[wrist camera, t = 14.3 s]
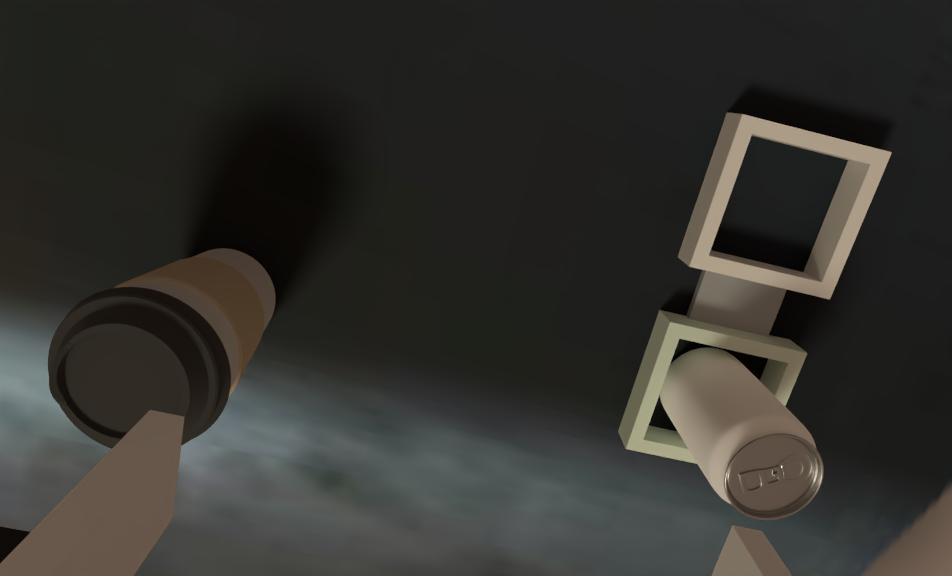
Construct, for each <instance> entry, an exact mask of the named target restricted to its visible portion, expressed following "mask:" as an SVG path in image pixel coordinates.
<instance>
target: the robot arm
mask: <svg viewBox="0 0 952 576" xmlns="http://www.w3.org/2000/svg"><path fill="white" fill-rule="evenodd" d="M183 426H184V416H179V415H174V414H169V413H164V412H158V411H153V410H149V411H148V412H147V413H146V415H145V416H144V417H143V418H142V419H141V420H140V421H139V422H138V423H137V424H136V425H135V426H134V427H133V428H132V429H131V430H130V431H129V432H128V433H127V434H126V435H125V436H124V437H123V438H122V439H121V440H120V441H119V442H118V443H117V444H116V445H115V446H114V447H113V448H112V449H111V450H110V451H109V452H108V453H107V455H106V456H105V457H104V458H103V459H102V460H101V461H100V462H99V463H98V464H97V465H96V466H95V467H94V468H93V469H92V470H91V471H90V472H89V473H88V474H87V475H86V476H85V477H84V478H83V479H82V480H81V481H80V482H79V483H78V484H77V485H76V486H75V487H74V488H73V489H72V490H71V491H70V492H69V493H68V495H67V496H66V497H65V498H64V499H63V500H62V501H61V502H60V503H59V504H58V505H57V506H56V507H55V508H54V509H53V510H52V511H51V512H50V513H49V514H48V515H47V516H46V517H45V518H44V519H43V520H42V521H41V522H40V523H39V524H38V525H37V526H36V527H35V528H34V529H33V530H32V531H31V532H27V531H21V530H16V529H10V528H5V527H0V576H134V574H135V573H136V571H137V570H138V568H139V567H140V565H141V564H142V562H143V561H144V560H145V558H146V557H147V555H148V554H149V552H150V551H151V549H152V548H153V546H154V545H155V543H156V542H157V540H158V539H159V537H160V536H161V534H162V533H163V532H164V530H165V529H166V527H167V526H168V524H169V523H170V521H171V520H172V518H173V511H174V502H175V494H176V485H177V477H178V468H179V460H180V451H181V443H182V434H183ZM712 576H792V575H791V574H790V572H789V571H788V569H787V568H786V566H785V565H784V563H783V562H782V560H781V559H780V557H779V556H778V554H777V553H776V551H775V550H774V548H773V547H772V545H771V544H770V542H769V541H768V539H767V538H766V536H765V535H764V533H763V532H762V531H759V530H753V529H748V528H743V527H738V526H733V525H732V528H731V530H730V533H729V535H728V537H727V540H726V542H725V545H724V547H723V549H722V552H721V554H720V557H719V559H718V561H717V564H716V566H715V569H714V571H713V573H712Z"/></svg>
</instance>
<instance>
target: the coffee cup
mask: <svg viewBox="0 0 952 576" xmlns="http://www.w3.org/2000/svg"><path fill="white" fill-rule="evenodd" d="M275 301H276V299H275V290H274V286H273V283H272V281H271V278H270V276H269V275H268V273H267V272H266V270H265V269H264V268H263V267H262V265H261V264H260V263H258V262H257V261H256V260H255V259H253V258H252V257H251V256H249V255H247V254H245V253H243V252H240V251H237V250H233V249H226V248H219V249H212V250H208V251H206V252H203V253H201V254H198V255H196V256H194V257H191V258H186V259H182V260H179V261H176V262H174V263H171V264H169V265H166V266H164V267H161V268H159V269H156V270H154V271H151V272H149V273H146V274H144V275H141V276H139V277H136V278H134V279H131V280H129V281H127V282H124V283H122V284H120V285H118V286H116V287H114V288H112V289H108V290H104V291H101V292H98V293H96V294H93V295H91V296H89V297H87V298H86V299H84V300H83V301H81V302H80V303H79V304H77V305H76V306H75V307H74V308H73V309H72V310H71V311H70V312H69V313H68V314H67V316H66V317H65V319H64V320H63V321H62V323H61V324H60V325H59V327H58V329H57V330H56V332H55V334H54V336H53V339H52V342H51V345H50V349H49V356H48V372H49V387H50V391H51V394H52V396H53V398H54V399H55V400H56V401H57V402H58V404H59V405H60V407H61V408H62V410H63V411H64V413H65V414H66V416H67V417H68V418H69V419H70V420H71V422H72V423H73V424H74V425H75V426H76V427H77V428H78V429H79V430H81V431H82V432H83V433H84V434H86V435H87V436H88V437H90V438H91V439H93V440H95V441H96V442H98V443H100V444H102V445H104V446H107V447H109V448H113V447H114V446H115V445H116V444H117V443H118V442H119V441H120V440H121V439H122V438H123V437H124V436H125V435H126V434H127V433H128V432H129V431H130V430H131V429H132V428H133V427H134V426H135V425H136V424H137V423H138V422H139V421H140V420H141V419H142V418H143V417H144V416H145V415H146V413H147V412H148V411H149V410H153V411H158V412H164V413H169V414H174V415H179V416H184V426H183V434H182V443H181V445H183V444H185V443H187V442H188V441H190V440H191V439H193V438H195V437H197V436H199V435H200V434H202V433H203V432H205V431H206V430H207V429H208V428H209V427H211V426H212V425H213V424H214V422H215V421H216V420H217V419H218V417H219V416H220V415H221V413H222V411H223V409H224V408H225V405H226V403H227V400H228V397H229V396H230V394H231V393H232V392H233V390H234V389H235V387H236V385H237V383H238V381H239V379H240V378H241V376H242V374H243V372H244V370H245V368H246V366H247V365H248V363H249V361H250V359H251V357H252V355H253V353H254V352H255V350H256V348H257V346H258V344H259V342H260V340H261V337H262V334H263V332H264V330H265V328H266V327H267V325H268V323H269V321H270V319H271V318H272V315H273V312H274V309H275Z"/></svg>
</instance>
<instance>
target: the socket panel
mask: <svg viewBox="0 0 952 576" xmlns="http://www.w3.org/2000/svg"><path fill="white" fill-rule="evenodd" d="M751 135H752V136H756V137H760V138H764V139H767V140H771V141H775V142H779V143H783V144H787V145H791V146H795V147H799V148H803V149H807V150H811V151H815V152H819V153H823V154H826V155H830V156H834V157H838V158H842V159H846V160H848V162H847V165H846V167H845V170H844V172H843V175H842V177H841V180H840V182H839V185H838V187H837V190H836V192H835V194H834V197H833V199H832V202H831V204H830V207H829V209H828V212H827V214H826V217H825V219H824V222H823V224H822V227H821V229H820V232H819V234H818V237H817V239H816V242H815V244H814V247H813V249H812V252H811V254H810V257H809V259H808V262H807V264H806V267H805V269H804V272H800V271H796V270H792V269H788V268H784V267H779V266H775V265H771V264H767V263H763V262H758V261H754V260H750V259H746V258H741V257H737V256H733V255H729V254H725V253H720V252H716V251H712V250H711V248H712V245H713V242H714V239H715V237H716V234H717V231H718V228H719V225H720V223H721V220H722V217H723V214H724V211H725V208H726V206H727V203H728V200H729V197H730V194H731V192H732V189H733V186H734V183H735V180H736V178H737V175H738V172H739V169H740V166H741V163H742V161H743V158H744V155H745V152H746V149H747V147H748V144H749V141H750V138H751ZM891 153H892V152H888V151H884V150H881V149H877V148H873V147H869V146H865V145H861V144H857V143H853V142H849V141H845V140H842V139H838V138H834V137H830V136H826V135H822V134H818V133H814V132H810V131H807V130H803V129H799V128H795V127H791V126H787V125H783V124H779V123H775V122H771V121H768V120H764V119H760V118H756V117H752V116H748V115H744V114H737V113H727V114H726V117H725V120H724V122H723V125H722V128H721V131H720V134H719V137H718V140H717V143H716V146H715V149H714V152H713V155H712V158H711V161H710V164H709V166H708V169H707V172H706V175H705V178H704V181H703V184H702V187H701V190H700V193H699V196H698V199H697V202H696V205H695V207H694V210H693V213H692V216H691V219H690V222H689V225H688V228H687V231H686V234H685V237H684V240H683V243H682V246H681V249H680V251H679V254H678V258H679V259H681V260H682V261H683V262H684V263H686V264H687V265H688V266H689V267H693V268H698V269H702V272H701V275H700V278H699V281H698V284H697V287H696V289H695V292H694V295H693V298H692V301H691V303H690V306H689V309H688V312H687V315H686V316H684V315H680V314H675V313H671V312H667V311H662V310H659V313H658V316H657V319H656V322H655V325H654V328H653V331H652V334H651V337H650V339H649V342H648V345H647V348H646V351H645V354H644V357H643V360H642V363H641V366H640V369H639V372H638V375H637V378H636V381H635V383H634V386H633V389H632V392H631V395H630V398H629V401H628V404H627V407H626V410H625V413H624V416H623V419H622V422H621V424H620V427H619V430H618V432H619V434H620V437H621V439H622V441H623V443H624V446H625V448H626V449H629V450H634V451H638V452H643V453H648V454H653V455H658V456H662V457H667V458H672V459H677V460H682V461H686V462H691V463H696V464H697V462H696V460H695V459H694V457H693V456H692V454H691V452H690V451H689V449H688V447H687V446H686V444H685V443H684V441H683V439H682V438H681V436H680V434H679V433H678V432H677V431H672V430H668V429H663V428H658V427H654V426H649V422H650V420H651V417H652V414H653V411H654V408H655V406H656V403H657V400H658V397H659V394H660V391H661V389H662V386H663V383H664V380H665V377H666V375H667V372H668V369H669V366H670V363H671V360H672V358H673V355H674V352H675V349H676V346H677V344H678V341H679V339H683V340H688V341H692V342H697V343H701V344H706V345H710V346H715V347H719V348H724V349H728V350H732V351H737V352H741V353H746V354H750V355H755V356H759V357H764V358H768V361H767V364H766V366H765V369H764V371H763V374H762V376H761V378H760V382H761V383H762V384H763V385H764V386H765V387H766V388H767V389H768V390H769V391H770V392H771V393H772V394H773V395H774V396H775V397H776V398H777V399H778V400H779V401H780V402H781V403H782V404H783V405H784V406H785V405H786V403H787V401H788V398H789V396H790V393H791V391H792V389H793V386H794V384H795V382H796V379H797V377H798V374H799V372H800V370H801V367H802V365H803V362H804V360H805V358H806V355H807V352H805V351H804V350H803V349H801V348H800V347H799V346H798V345H796V344H795V343H794V342H793V341H791V340H789V339H785V338H781V337H776V336H772V335H769V333H770V331H771V328H772V326H773V323H774V321H775V318H776V316H777V313H778V311H779V308H780V306H781V303H782V301H783V298H784V296H785V293H786V291H787V290H792V291H796V292H800V293H804V294H809V295H813V296H817V297H821V298H826V299H830V298H831V296H832V293H833V291H834V289H835V286H836V284H837V282H838V279H839V277H840V274H841V272H842V270H843V267H844V265H845V262H846V260H847V258H848V255H849V253H850V251H851V248H852V246H853V243H854V241H855V239H856V236H857V234H858V232H859V229H860V227H861V224H862V222H863V220H864V217H865V215H866V212H867V210H868V208H869V205H870V203H871V201H872V198H873V196H874V193H875V191H876V189H877V186H878V184H879V182H880V179H881V177H882V174H883V172H884V170H885V167H886V165H887V162H888V160H889V158H890V155H891Z"/></svg>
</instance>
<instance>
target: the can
mask: <svg viewBox="0 0 952 576" xmlns="http://www.w3.org/2000/svg"><path fill="white" fill-rule="evenodd" d="M660 399H661V402H662V405H663V407H664V409H665V411H666V413H667V414H668V416H669V418H670V420H671V421H672V423H673V425H674V426H675V428H676V429H677V431H678V433H679V434H680V436H681V438H682V439H683V441H684V443H685V444H686V446H687V447H688V449H689V451H690V452H691V454H692V456H693V457H694V459H695V460H696V462H697V464H698V465H699V467H700V469H701V470H702V472H703V473H704V475H705V477H706V478H707V480H708V481H709V483H710V484H711V486H712V487H713V489H714V490H715V491H716V492H717V494H718V495H719V496H720V497H721V498H722V499H724V500H725V501H726V502H728V503H730V504H732V505H733V507H734V508H735V509H737V510H738V511H739V512H741V513H742V514H744V515H746V516H748V517H751V518H754V519H759V520H775V519H781V518H784V517H787V516H790V515H792V514H794V513H796V512H798V511H800V510H801V509H803V508H804V507H805V506H806V505H807V504H809V503H810V502H811V500H812V499H813V498H814V497H815V495H816V494H817V492H818V491H819V489H820V486H821V484H822V480H823V475H824V467H823V462H822V459H821V456H820V454H819V453H818V451H817V450H816V446H815V443H814V440H813V438H812V436H811V435H810V433H809V432H808V430H807V429H806V428H805V427H804V426H803V425H802V423H801V422H800V421H799V420H798V419H797V418H796V417H795V416H794V415H793V414H792V413H791V412H790V411H789V410H788V409H787V408H786V407H785V406H784V405H783V404H782V403H781V402H780V401H779V400H778V399H777V398H776V397H775V396H774V395H773V394H772V393H771V392H770V391H769V390H768V389H767V388H766V387H765V386H764V385H763V384H762V383H761V382H760V381H759V380H758V379H757V378H756V377H755V376H754V375H753V374H752V373H751V372H750V371H749V370H748V369H747V368H746V367H745V366H744V365H743V364H742V363H741V362H740V361H739V360H738V359H737V358H735V357H734V356H733V355H731V354H730V353H728V352H726V351H724V350H721V349H717V348H699V349H695V350H691V351H689V352H687V353H685V354H683V355H681V356H680V357H678V358H677V359H676V360H674V361H673V362H672V363H671V364H670V366H669V369H668V372H667V375H666V377H665V380H664V383H663V386H662V389H661V391H660Z"/></svg>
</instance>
